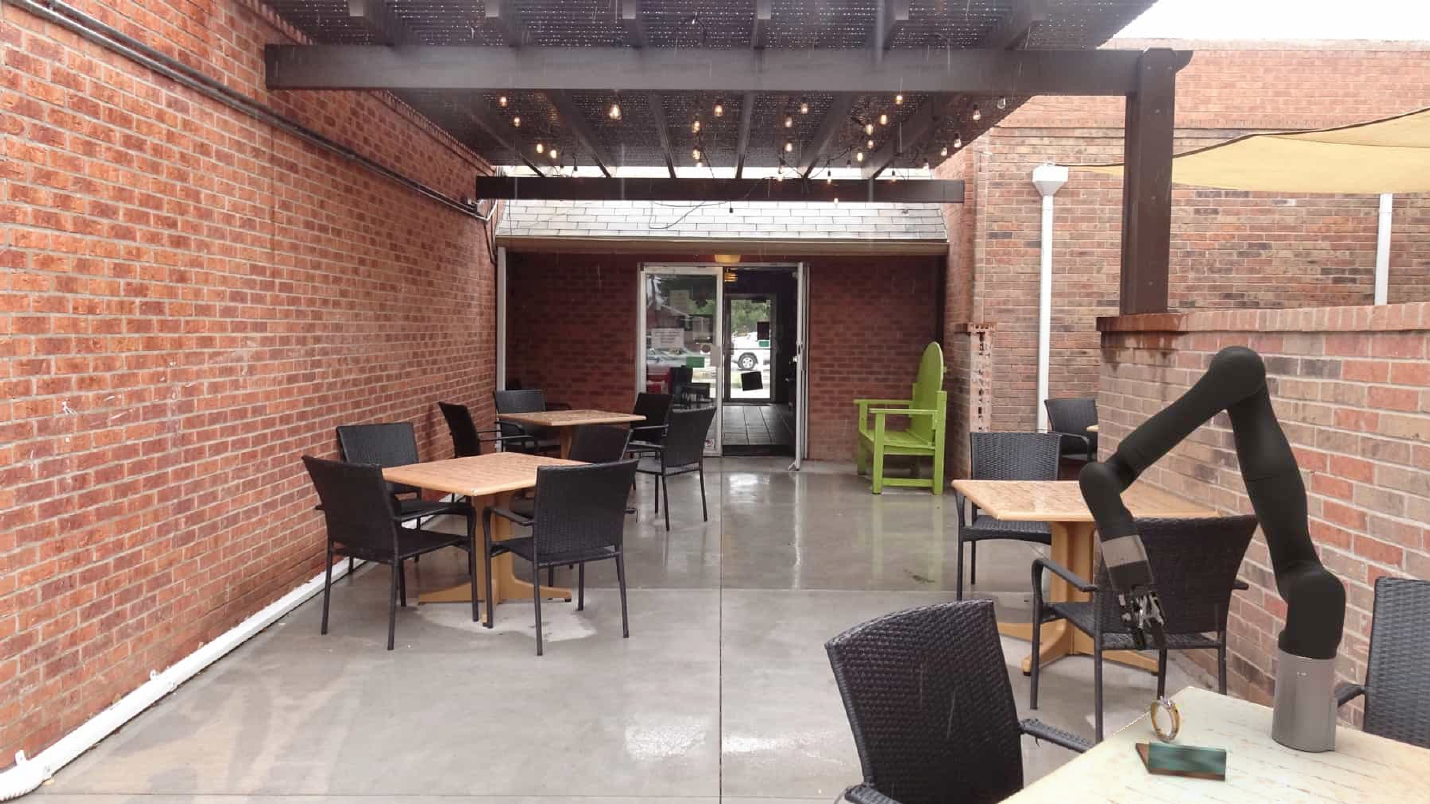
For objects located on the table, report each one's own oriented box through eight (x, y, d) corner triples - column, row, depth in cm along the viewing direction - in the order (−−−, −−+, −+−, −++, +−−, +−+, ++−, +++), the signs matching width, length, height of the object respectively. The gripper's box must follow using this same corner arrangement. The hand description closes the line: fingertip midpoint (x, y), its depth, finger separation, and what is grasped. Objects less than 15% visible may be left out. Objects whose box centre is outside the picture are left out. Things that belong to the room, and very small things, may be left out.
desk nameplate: (1206, 754, 172) (1208, 727, 171) (1225, 780, 162) (1226, 752, 162) (1135, 747, 174) (1136, 721, 174) (1149, 773, 164) (1150, 744, 164)
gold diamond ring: (1182, 747, 174) (1184, 705, 174) (1165, 748, 174) (1167, 705, 174) (1161, 731, 181) (1163, 690, 181) (1145, 731, 181) (1147, 690, 180)
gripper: (1129, 559, 177) (1156, 648, 172) (1160, 557, 187) (1187, 641, 182) (1091, 568, 182) (1117, 655, 177) (1124, 565, 192) (1149, 648, 187)
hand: (1152, 648), depth 180 cm, fingers open, 8 cm apart
